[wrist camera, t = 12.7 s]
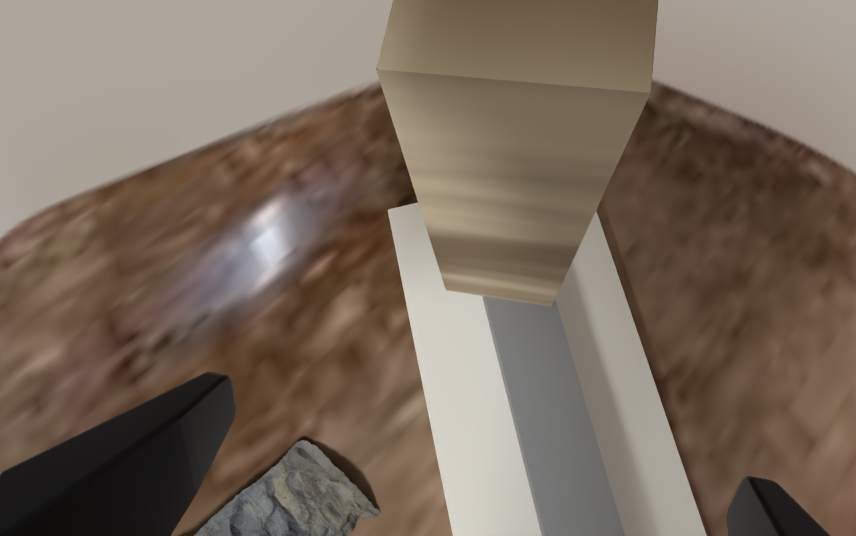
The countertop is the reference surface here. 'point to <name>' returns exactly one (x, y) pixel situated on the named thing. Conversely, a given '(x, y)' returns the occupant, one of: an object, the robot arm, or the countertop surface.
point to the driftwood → (294, 500)
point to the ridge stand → (543, 403)
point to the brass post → (514, 127)
